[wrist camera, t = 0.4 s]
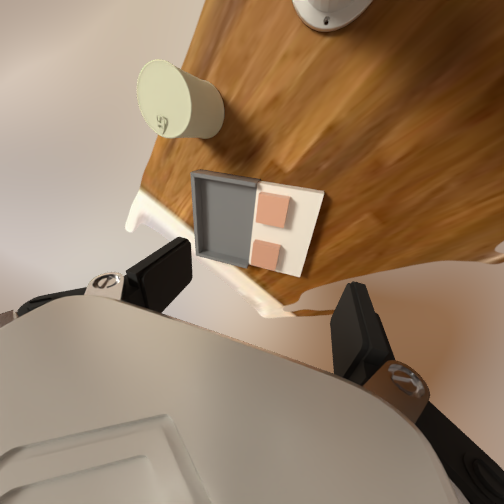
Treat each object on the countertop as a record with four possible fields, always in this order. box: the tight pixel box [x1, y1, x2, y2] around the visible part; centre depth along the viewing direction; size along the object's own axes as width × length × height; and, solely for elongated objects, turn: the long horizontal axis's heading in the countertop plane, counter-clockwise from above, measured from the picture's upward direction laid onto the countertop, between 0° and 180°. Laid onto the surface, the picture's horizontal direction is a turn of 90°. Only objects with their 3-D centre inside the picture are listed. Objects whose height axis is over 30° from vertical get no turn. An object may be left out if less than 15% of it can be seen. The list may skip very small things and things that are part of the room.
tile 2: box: [251, 239, 281, 271], centre depth 45 cm, size 6×6×2 cm
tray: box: [191, 169, 261, 268], centre depth 46 cm, size 21×14×4 cm
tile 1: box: [256, 191, 290, 228], centre depth 40 cm, size 6×6×2 cm
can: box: [137, 59, 224, 139], centre depth 33 cm, size 9×9×12 cm
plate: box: [249, 181, 324, 277], centre depth 44 cm, size 20×13×2 cm, turn 174°
